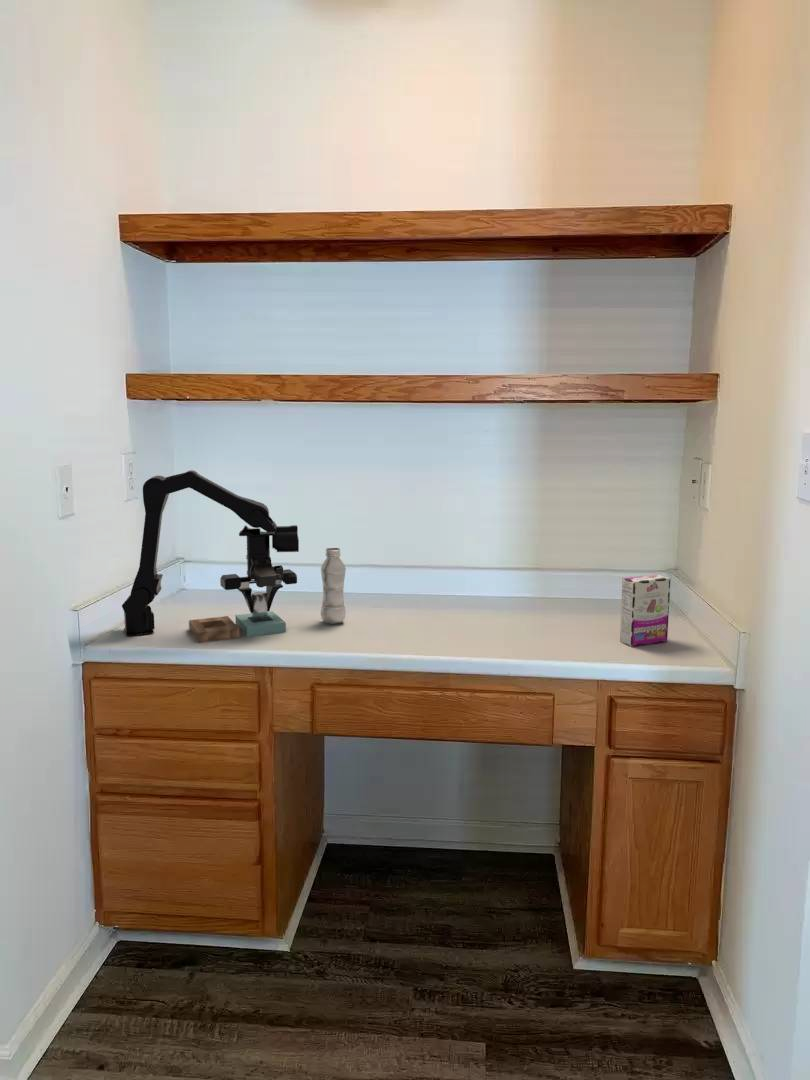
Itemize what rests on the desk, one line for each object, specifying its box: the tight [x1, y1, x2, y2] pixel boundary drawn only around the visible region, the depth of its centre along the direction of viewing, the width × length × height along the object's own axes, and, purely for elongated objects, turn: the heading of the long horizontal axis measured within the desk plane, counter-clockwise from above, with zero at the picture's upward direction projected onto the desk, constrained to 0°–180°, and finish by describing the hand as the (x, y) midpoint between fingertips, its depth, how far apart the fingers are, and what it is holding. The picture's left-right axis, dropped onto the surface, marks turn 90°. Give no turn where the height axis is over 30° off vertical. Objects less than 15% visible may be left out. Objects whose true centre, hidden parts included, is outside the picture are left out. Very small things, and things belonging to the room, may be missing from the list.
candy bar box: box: [619, 574, 671, 647], centre depth 194 cm, size 11×5×16 cm, turn 112°
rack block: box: [235, 611, 287, 638], centre depth 204 cm, size 10×12×2 cm
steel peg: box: [251, 591, 269, 623], centre depth 203 cm, size 4×4×8 cm
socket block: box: [188, 615, 240, 644], centre depth 199 cm, size 10×12×2 cm
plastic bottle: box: [320, 547, 347, 624], centre depth 208 cm, size 6×7×20 cm
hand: (259, 611), depth 203 cm, fingers closed on steel peg, 4 cm apart
